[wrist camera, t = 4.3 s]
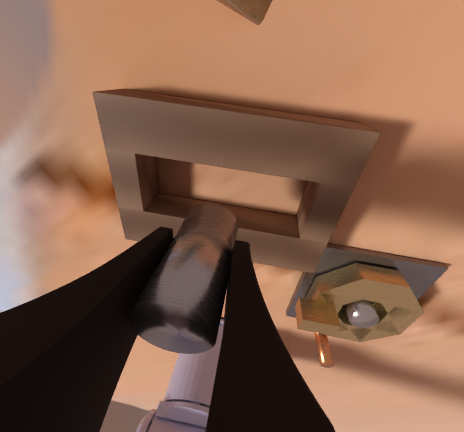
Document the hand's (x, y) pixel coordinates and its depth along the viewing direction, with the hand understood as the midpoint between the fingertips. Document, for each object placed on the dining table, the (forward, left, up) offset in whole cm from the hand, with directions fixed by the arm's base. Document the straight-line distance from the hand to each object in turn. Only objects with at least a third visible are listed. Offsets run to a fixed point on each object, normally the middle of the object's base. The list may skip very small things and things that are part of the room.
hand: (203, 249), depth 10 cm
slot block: (0, 0, -8) cm, 8 cm away
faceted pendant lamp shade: (-10, -13, -7) cm, 18 cm away
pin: (0, 0, -2) cm, 2 cm away
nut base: (-10, -14, -8) cm, 19 cm away
